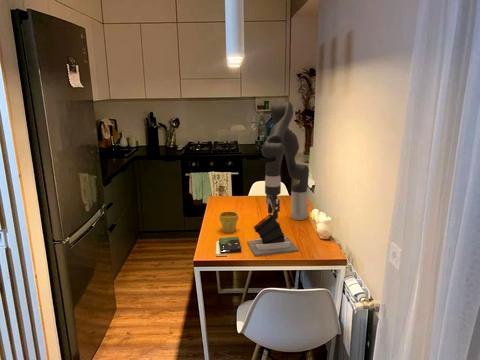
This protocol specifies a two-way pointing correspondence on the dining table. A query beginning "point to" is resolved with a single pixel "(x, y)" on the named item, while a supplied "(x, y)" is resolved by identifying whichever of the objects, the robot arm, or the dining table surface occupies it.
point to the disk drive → (230, 245)
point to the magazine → (269, 230)
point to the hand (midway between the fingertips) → (272, 216)
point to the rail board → (271, 247)
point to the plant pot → (228, 221)
